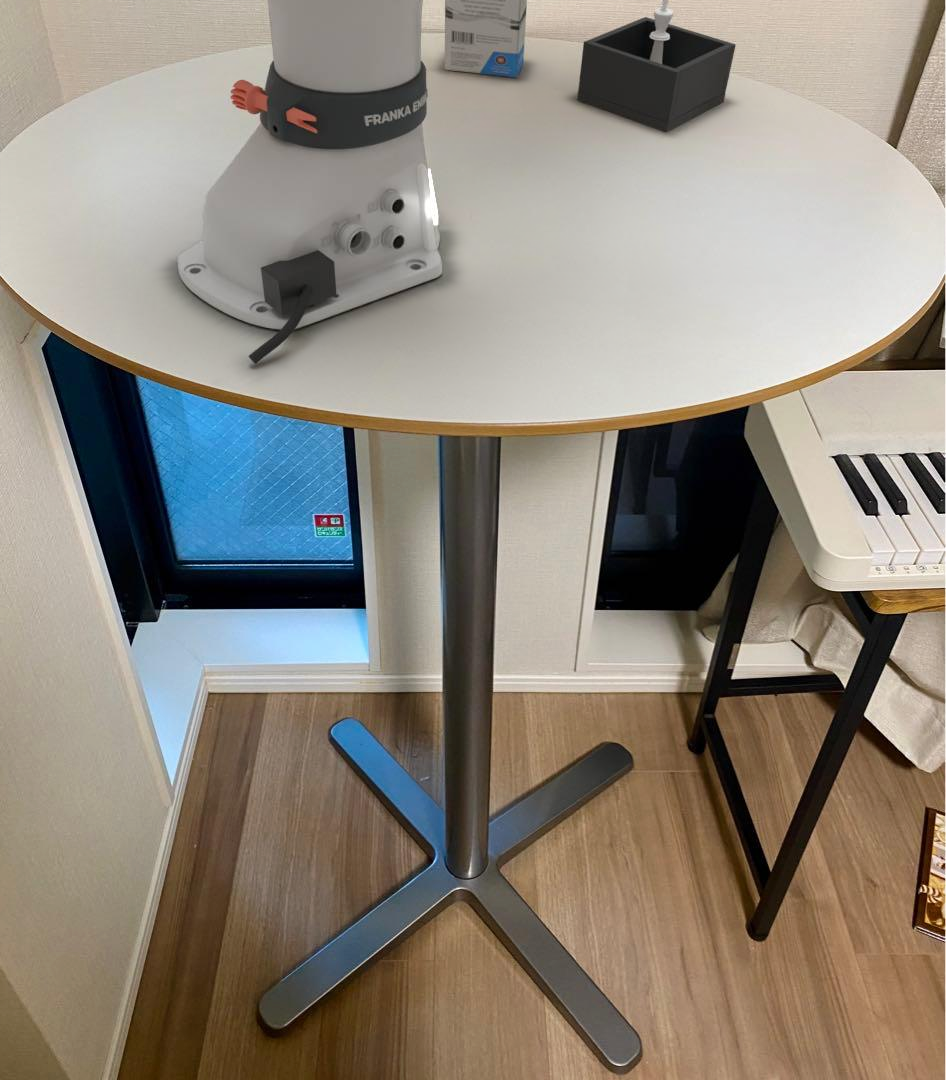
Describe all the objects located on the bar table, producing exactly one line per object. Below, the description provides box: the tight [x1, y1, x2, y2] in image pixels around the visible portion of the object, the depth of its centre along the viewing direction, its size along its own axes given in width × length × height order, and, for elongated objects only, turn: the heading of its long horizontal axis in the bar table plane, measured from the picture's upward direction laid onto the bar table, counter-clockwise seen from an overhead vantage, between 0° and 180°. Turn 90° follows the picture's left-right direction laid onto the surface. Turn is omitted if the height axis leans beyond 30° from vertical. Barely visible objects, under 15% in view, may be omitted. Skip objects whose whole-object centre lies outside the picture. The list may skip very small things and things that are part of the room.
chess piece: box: [650, 0, 674, 64], centre depth 104 cm, size 5×5×10 cm
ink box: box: [444, 0, 528, 78], centre depth 110 cm, size 9×5×12 cm, turn 77°
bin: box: [576, 16, 736, 133], centre depth 107 cm, size 12×12×6 cm
